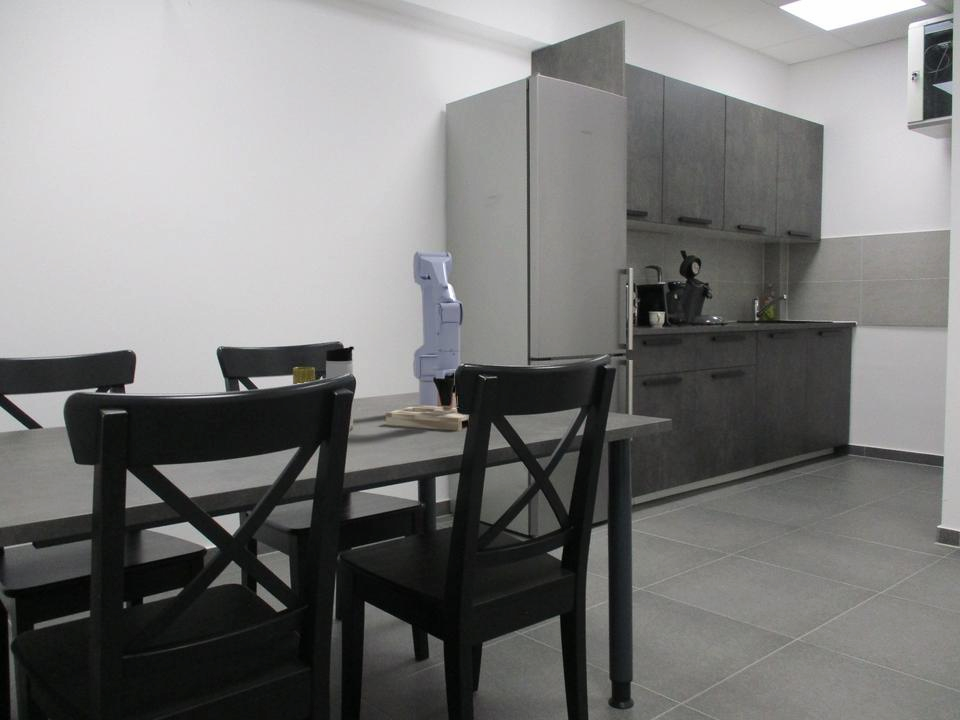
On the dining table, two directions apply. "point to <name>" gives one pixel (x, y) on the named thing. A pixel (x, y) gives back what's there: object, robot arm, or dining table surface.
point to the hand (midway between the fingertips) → (448, 404)
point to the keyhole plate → (426, 418)
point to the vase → (303, 374)
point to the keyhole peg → (447, 408)
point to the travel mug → (340, 365)
